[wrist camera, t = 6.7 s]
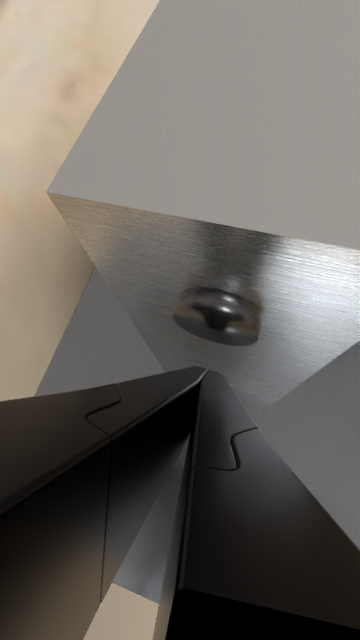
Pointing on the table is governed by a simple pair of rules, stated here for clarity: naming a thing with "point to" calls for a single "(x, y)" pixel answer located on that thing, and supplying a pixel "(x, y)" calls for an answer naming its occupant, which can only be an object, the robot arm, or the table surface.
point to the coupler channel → (269, 415)
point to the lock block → (229, 187)
